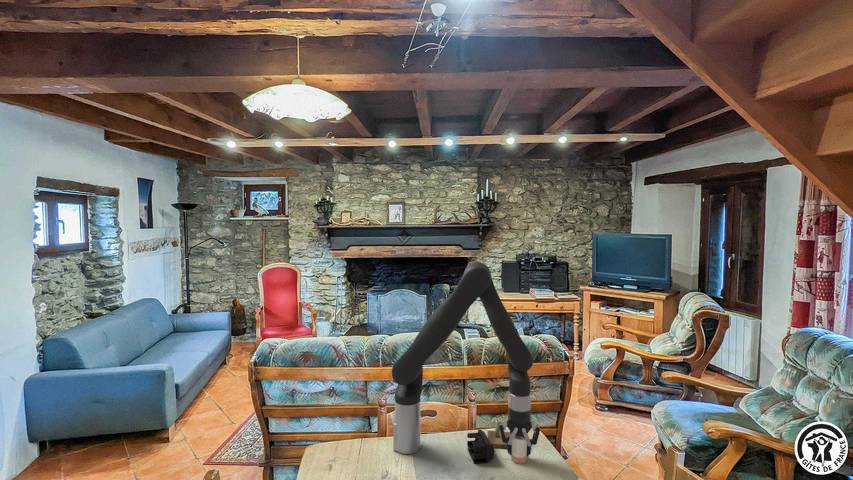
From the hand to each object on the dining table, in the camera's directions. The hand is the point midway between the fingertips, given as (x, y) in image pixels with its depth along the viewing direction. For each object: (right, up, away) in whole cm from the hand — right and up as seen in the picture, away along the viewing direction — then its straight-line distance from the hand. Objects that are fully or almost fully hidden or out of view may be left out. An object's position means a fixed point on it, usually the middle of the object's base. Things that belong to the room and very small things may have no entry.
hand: (518, 454), depth 134 cm
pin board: (-2, -1, +11) cm, 11 cm away
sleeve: (0, -2, 0) cm, 2 cm away
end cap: (-13, -2, +2) cm, 13 cm away
